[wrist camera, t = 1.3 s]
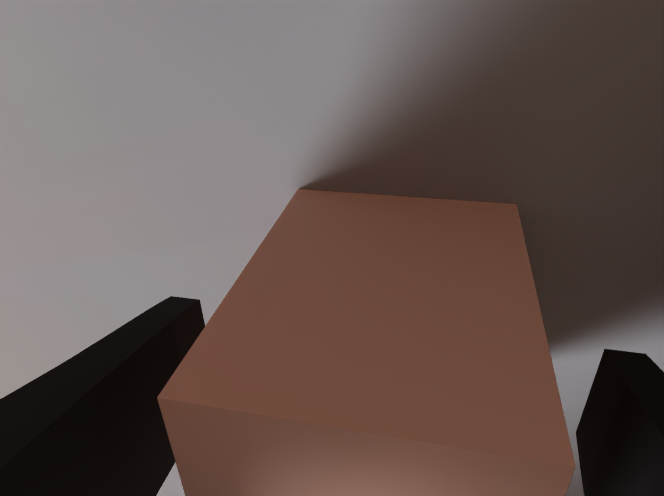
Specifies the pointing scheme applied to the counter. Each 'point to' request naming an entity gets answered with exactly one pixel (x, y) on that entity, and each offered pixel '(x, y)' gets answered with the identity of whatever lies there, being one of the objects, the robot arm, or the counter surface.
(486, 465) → the terracotta block
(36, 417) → the robot arm
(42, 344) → the counter surface
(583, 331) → the counter surface
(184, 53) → the counter surface
